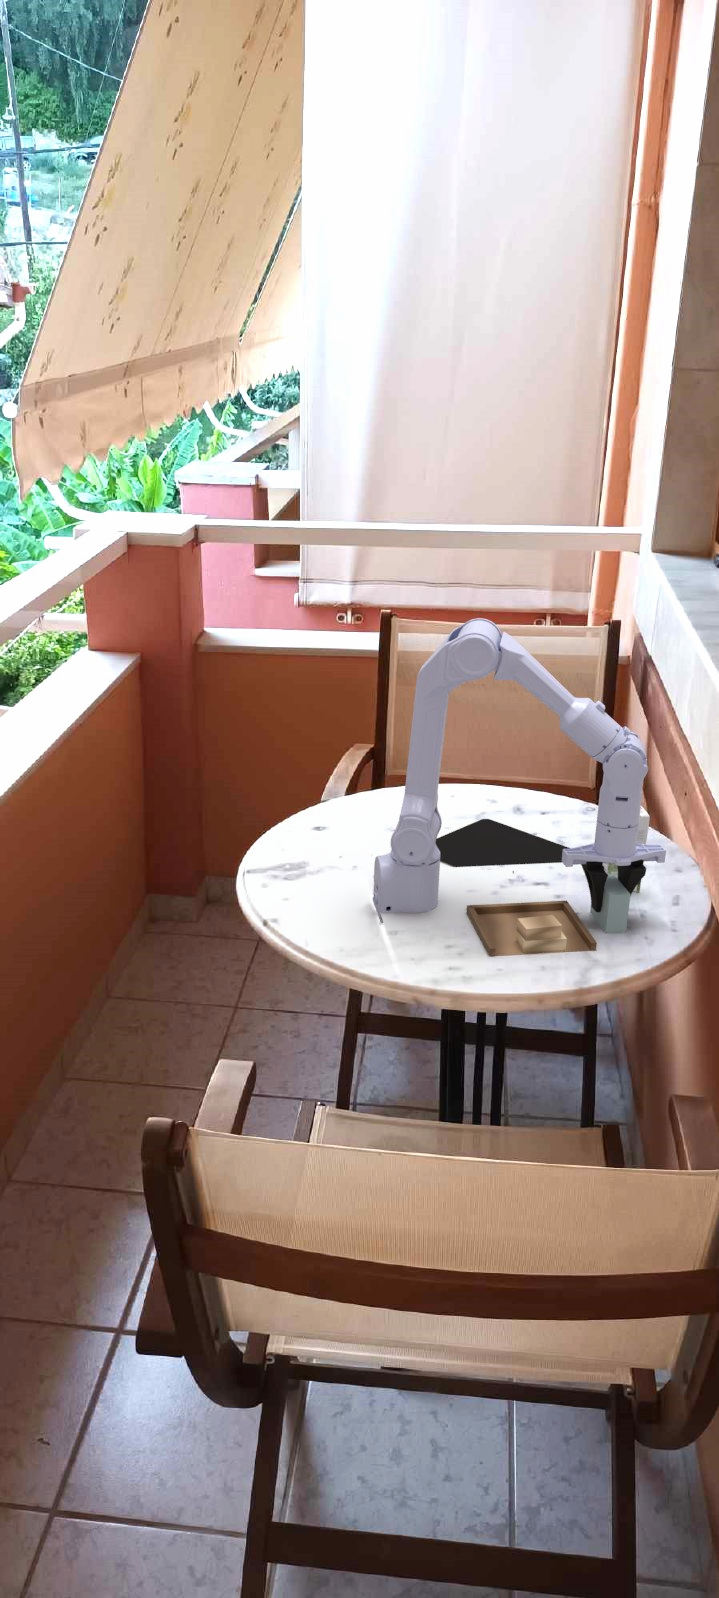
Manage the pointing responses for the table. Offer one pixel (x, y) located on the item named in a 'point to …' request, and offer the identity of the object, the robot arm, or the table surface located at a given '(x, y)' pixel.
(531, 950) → the offcut lower
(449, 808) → the table surface
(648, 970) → the table surface
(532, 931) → the offcut upper
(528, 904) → the brown wooden tray
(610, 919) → the sage green tall block
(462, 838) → the tablet
